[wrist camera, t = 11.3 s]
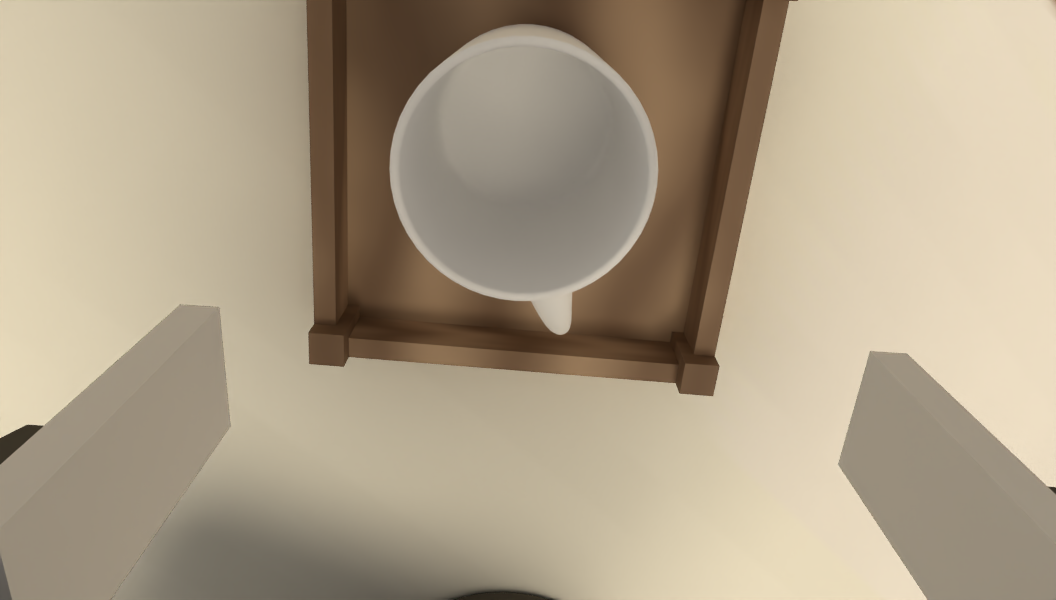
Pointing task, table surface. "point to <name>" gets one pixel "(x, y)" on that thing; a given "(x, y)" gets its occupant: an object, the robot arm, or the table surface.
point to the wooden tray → (615, 298)
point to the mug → (524, 168)
